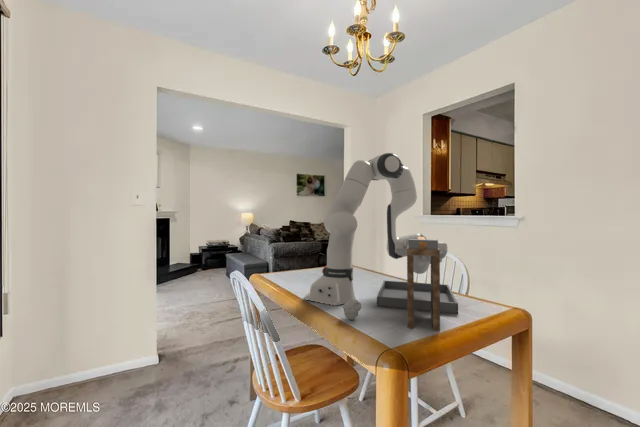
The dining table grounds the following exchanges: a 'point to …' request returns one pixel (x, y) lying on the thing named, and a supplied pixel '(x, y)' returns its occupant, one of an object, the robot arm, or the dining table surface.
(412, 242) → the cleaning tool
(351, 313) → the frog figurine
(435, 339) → the dining table surface
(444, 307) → the tray
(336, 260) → the robot arm
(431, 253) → the frame
